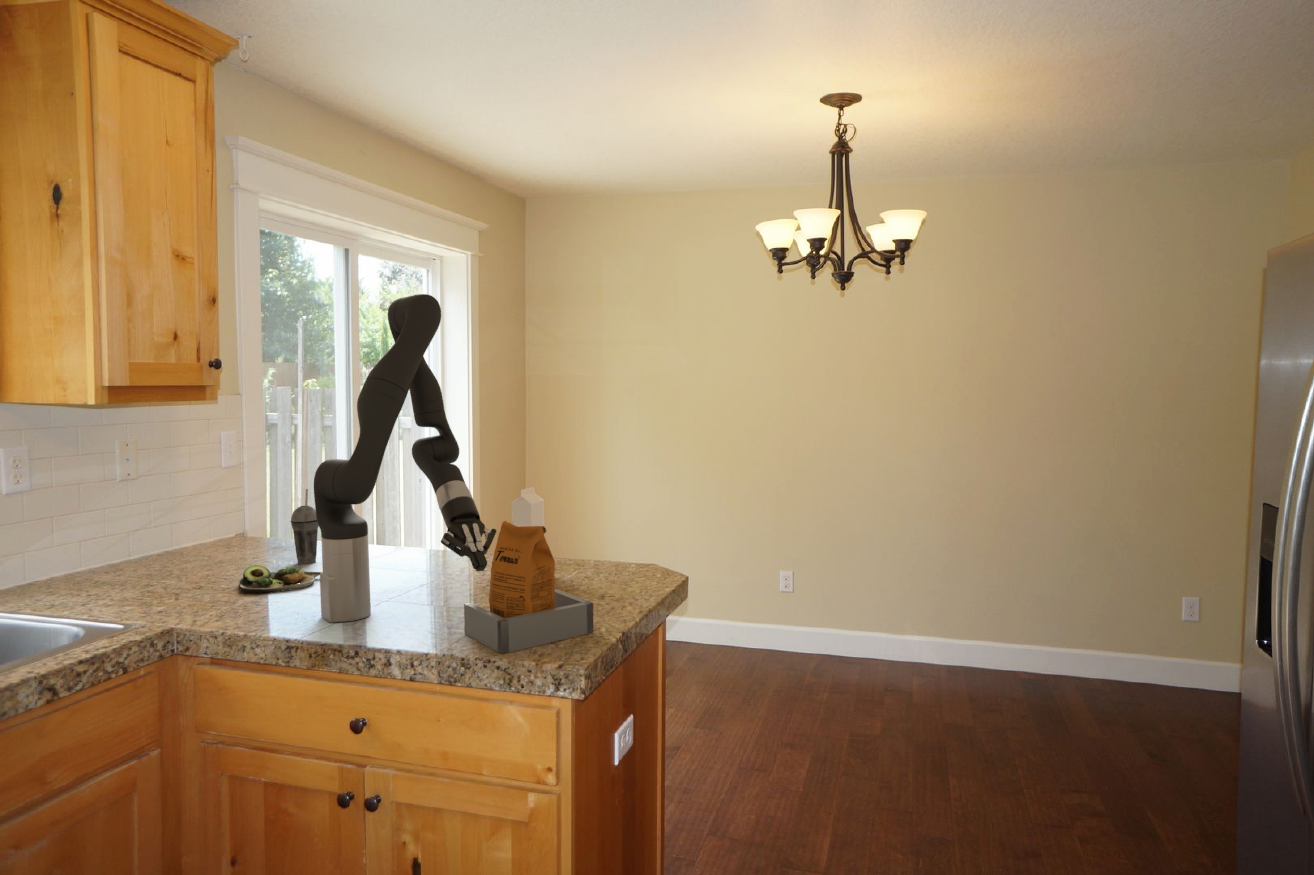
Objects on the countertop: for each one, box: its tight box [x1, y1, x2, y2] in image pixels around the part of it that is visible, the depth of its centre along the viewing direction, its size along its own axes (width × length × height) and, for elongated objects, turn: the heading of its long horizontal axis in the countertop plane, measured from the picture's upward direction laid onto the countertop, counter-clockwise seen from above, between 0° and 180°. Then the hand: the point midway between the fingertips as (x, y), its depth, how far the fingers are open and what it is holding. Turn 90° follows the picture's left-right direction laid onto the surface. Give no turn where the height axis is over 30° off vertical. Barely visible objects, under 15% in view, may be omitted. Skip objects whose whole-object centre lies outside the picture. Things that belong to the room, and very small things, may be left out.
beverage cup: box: [290, 488, 319, 565], centre depth 231 cm, size 7×7×20 cm
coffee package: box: [488, 520, 556, 618], centre depth 166 cm, size 10×12×22 cm
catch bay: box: [463, 588, 594, 655], centre depth 168 cm, size 20×16×6 cm
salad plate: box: [238, 564, 321, 595], centre depth 209 cm, size 19×18×5 cm
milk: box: [510, 486, 546, 537], centre depth 215 cm, size 6×6×22 cm
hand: (481, 568), depth 182 cm, fingers closed
